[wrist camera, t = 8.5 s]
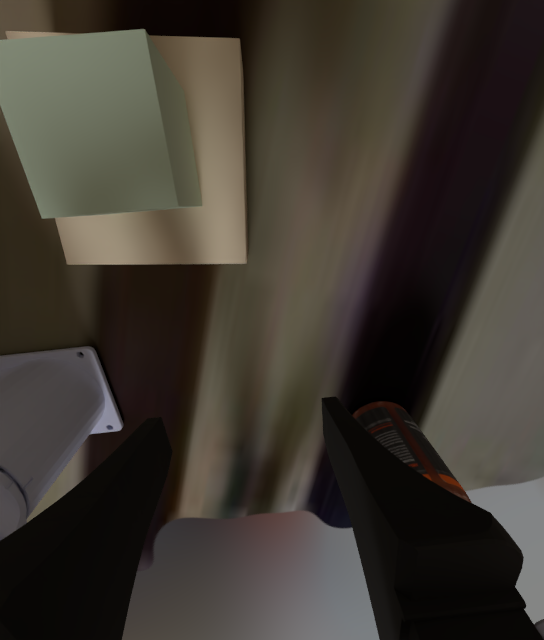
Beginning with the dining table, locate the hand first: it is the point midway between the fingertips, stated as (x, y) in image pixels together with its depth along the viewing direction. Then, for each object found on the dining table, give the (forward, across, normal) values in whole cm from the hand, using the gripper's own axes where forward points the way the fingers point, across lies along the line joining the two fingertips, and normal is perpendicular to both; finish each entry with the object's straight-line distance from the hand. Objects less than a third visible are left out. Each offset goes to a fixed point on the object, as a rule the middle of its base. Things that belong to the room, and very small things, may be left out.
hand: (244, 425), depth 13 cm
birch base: (+10, +4, -12) cm, 16 cm away
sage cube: (+6, +4, -12) cm, 14 cm away
